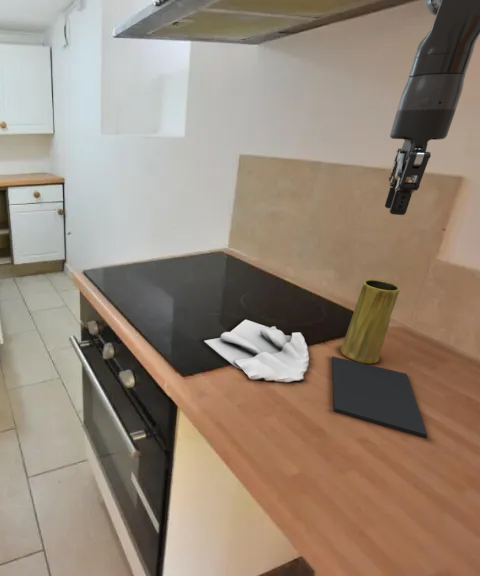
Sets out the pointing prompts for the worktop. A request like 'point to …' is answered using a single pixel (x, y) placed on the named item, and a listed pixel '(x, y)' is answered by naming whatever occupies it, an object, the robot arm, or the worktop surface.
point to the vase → (370, 321)
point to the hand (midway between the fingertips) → (394, 210)
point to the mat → (375, 396)
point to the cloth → (263, 352)
